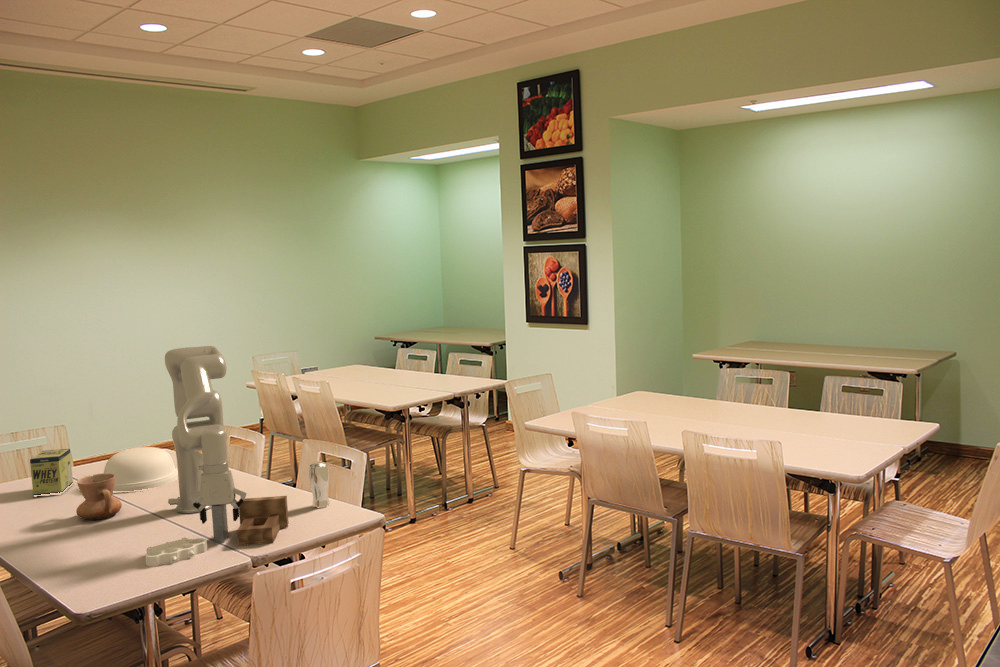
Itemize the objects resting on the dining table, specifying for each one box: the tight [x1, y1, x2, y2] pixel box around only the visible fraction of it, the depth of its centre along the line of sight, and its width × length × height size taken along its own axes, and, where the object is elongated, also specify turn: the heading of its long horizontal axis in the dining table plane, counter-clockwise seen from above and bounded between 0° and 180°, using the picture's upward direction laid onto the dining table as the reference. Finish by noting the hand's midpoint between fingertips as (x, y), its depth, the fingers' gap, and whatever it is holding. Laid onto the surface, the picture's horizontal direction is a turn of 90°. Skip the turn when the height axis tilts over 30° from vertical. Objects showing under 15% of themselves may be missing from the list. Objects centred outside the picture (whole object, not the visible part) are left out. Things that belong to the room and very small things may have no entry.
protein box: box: [29, 448, 74, 495], centre depth 316 cm, size 10×16×16 cm
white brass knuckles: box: [144, 537, 208, 567], centre depth 239 cm, size 3×18×15 cm
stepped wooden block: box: [236, 495, 290, 547], centre depth 253 cm, size 15×17×10 cm
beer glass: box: [308, 462, 331, 508], centre depth 282 cm, size 7×7×15 cm
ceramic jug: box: [76, 472, 123, 521], centre depth 280 cm, size 18×14×14 cm
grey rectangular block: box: [210, 504, 229, 544], centre depth 250 cm, size 3×6×12 cm, turn 6°
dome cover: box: [103, 446, 178, 491], centre depth 324 cm, size 32×30×14 cm
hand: (220, 521), depth 250 cm, fingers open, 9 cm apart
